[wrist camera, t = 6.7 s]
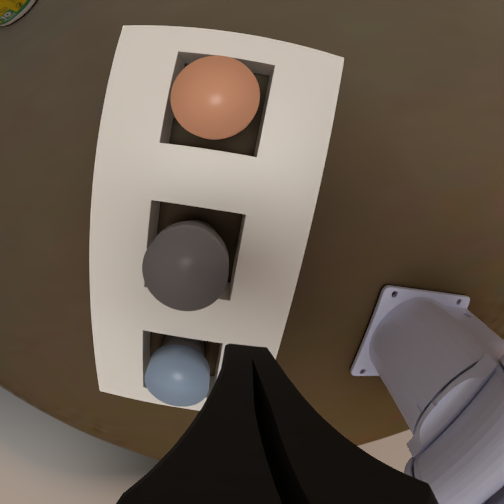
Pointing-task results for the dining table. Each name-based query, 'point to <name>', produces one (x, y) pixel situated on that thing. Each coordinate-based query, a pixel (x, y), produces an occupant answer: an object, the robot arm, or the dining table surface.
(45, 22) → the dining table surface
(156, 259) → the charcoal button
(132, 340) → the button panel
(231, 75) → the terracotta button
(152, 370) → the slate blue button
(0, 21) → the supplement bottle
